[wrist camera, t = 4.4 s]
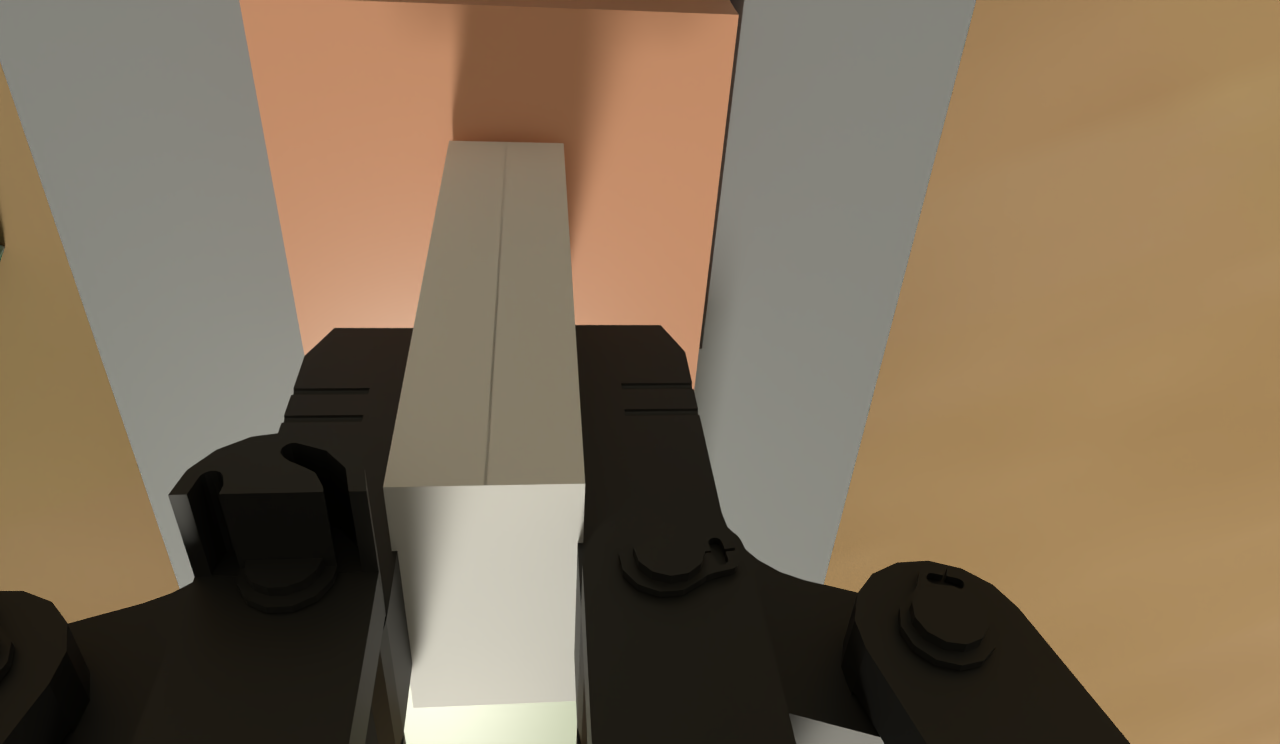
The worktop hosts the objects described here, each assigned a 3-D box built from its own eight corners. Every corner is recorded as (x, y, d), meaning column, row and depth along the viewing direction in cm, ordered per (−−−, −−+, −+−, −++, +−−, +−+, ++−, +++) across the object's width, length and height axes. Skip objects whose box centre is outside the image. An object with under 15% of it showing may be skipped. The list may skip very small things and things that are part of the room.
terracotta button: (352, 270, 18) (311, 399, 14) (304, -74, 14) (238, -4, 11) (664, 272, 18) (693, 395, 15) (693, -57, 15) (739, 14, 12)
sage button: (386, 653, 21) (360, 824, 18) (355, 457, 18) (317, 624, 15) (645, 643, 22) (664, 806, 19) (664, 451, 19) (692, 612, 15)
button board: (252, 613, 25) (222, 713, 22) (-334, -1490, 8) (-696, -1984, 6) (771, 595, 26) (796, 687, 24) (1158, -1199, 10) (1365, -1493, 7)
